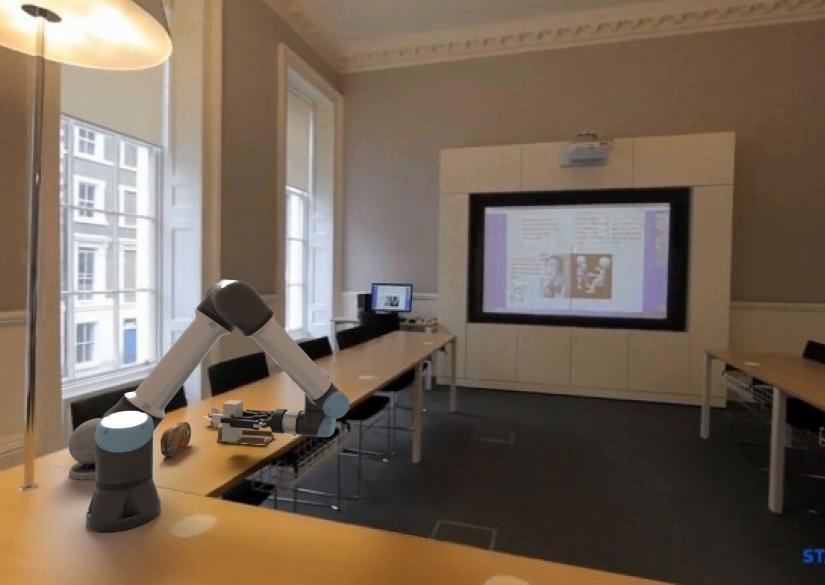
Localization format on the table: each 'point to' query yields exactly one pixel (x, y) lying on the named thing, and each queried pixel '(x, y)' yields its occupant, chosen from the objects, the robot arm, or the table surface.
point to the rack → (250, 436)
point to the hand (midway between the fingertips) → (217, 416)
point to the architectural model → (209, 416)
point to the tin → (175, 439)
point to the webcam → (84, 450)
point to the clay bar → (237, 411)
